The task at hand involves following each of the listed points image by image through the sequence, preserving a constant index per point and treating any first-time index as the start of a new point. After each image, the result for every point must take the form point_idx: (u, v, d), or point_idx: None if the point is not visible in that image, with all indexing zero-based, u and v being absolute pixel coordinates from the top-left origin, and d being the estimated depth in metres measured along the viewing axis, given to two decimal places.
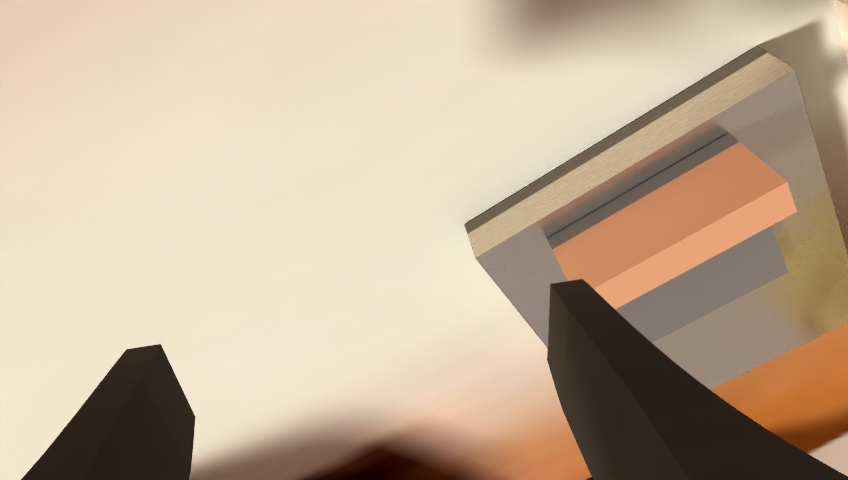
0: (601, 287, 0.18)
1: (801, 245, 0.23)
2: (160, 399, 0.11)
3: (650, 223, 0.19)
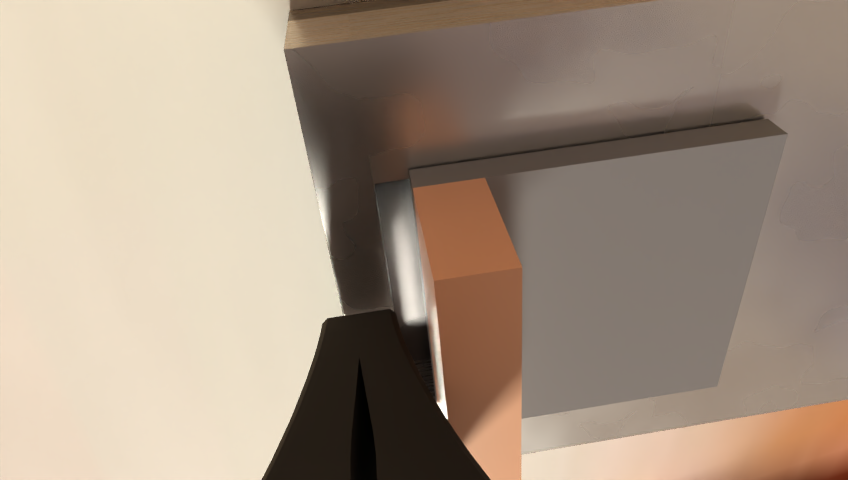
0: None
1: (722, 75, 0.11)
2: None
3: (439, 385, 0.11)
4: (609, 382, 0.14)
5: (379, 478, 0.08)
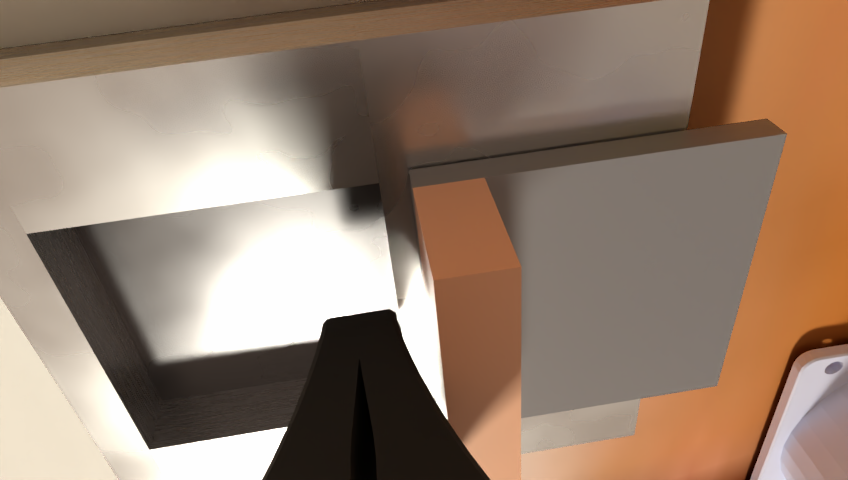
0: None
1: (372, 124, 0.10)
2: None
3: (439, 384, 0.11)
4: (609, 381, 0.14)
5: (379, 478, 0.08)
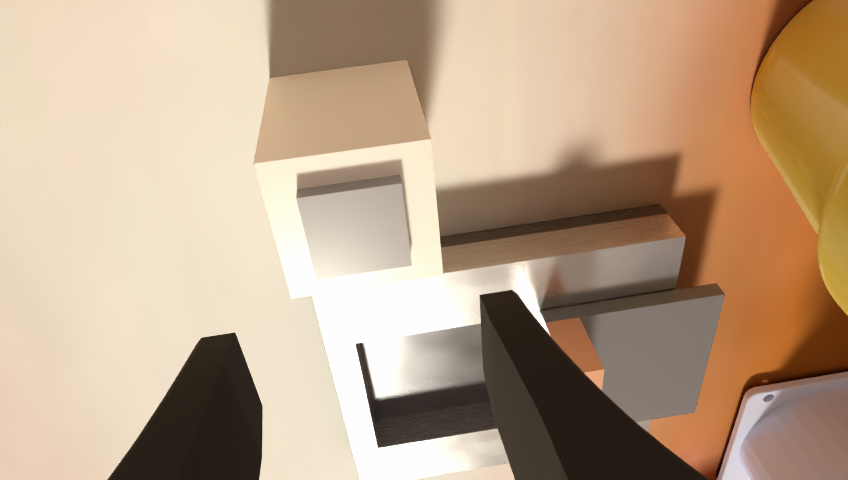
0: None
1: (525, 292, 0.22)
2: (237, 387, 0.11)
3: None
4: (634, 410, 0.25)
5: None
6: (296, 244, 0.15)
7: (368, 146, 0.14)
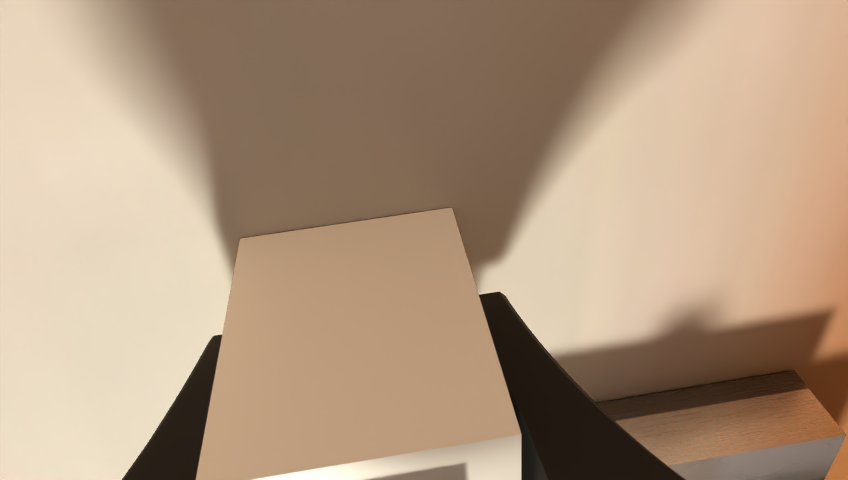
0: None
1: None
2: None
3: None
4: None
5: None
6: None
7: (406, 447, 0.08)
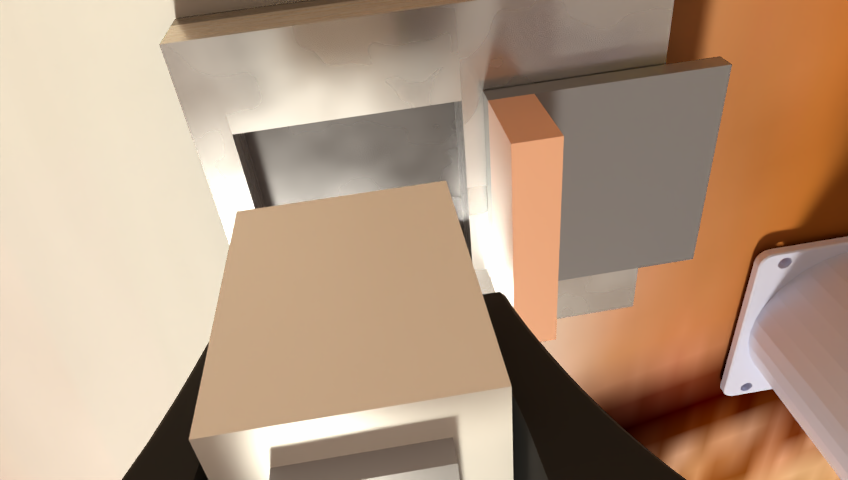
0: None
1: (460, 59, 0.16)
2: None
3: (502, 237, 0.17)
4: (615, 253, 0.19)
5: None
6: None
7: (398, 399, 0.08)
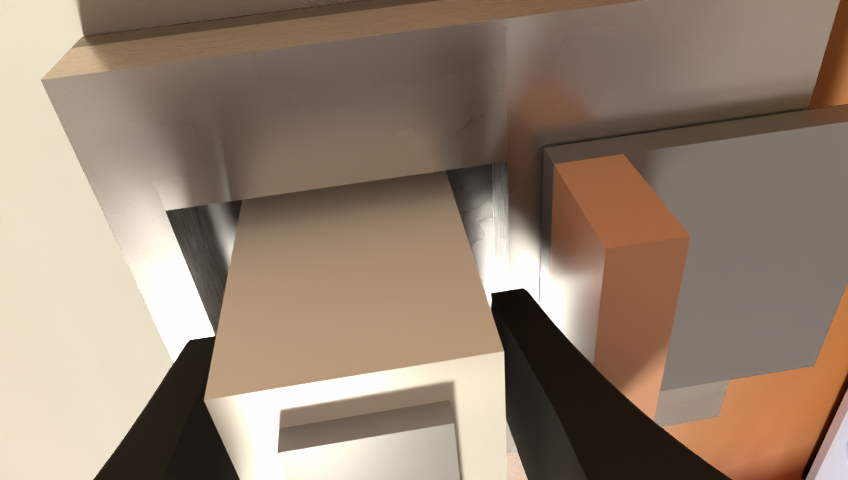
0: None
1: (509, 102, 0.10)
2: None
3: None
4: (712, 361, 0.14)
5: None
6: None
7: (398, 364, 0.08)
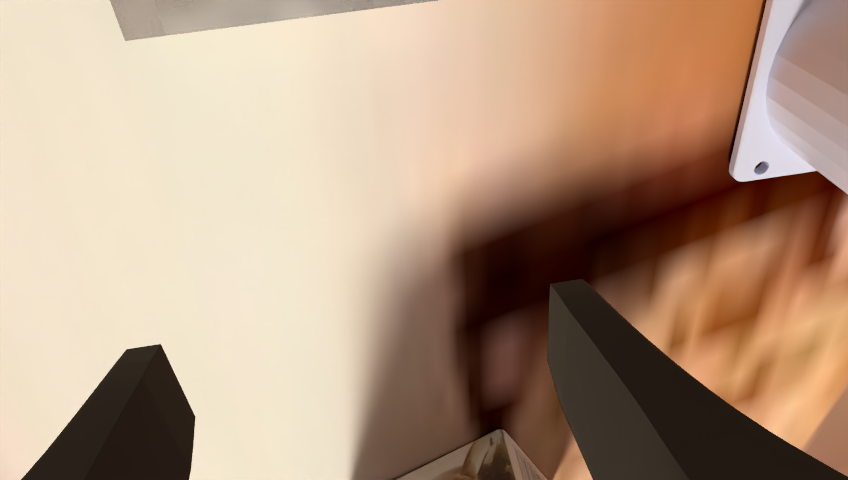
0: None
1: None
2: (160, 399, 0.11)
3: None
4: None
5: None
6: None
7: None
